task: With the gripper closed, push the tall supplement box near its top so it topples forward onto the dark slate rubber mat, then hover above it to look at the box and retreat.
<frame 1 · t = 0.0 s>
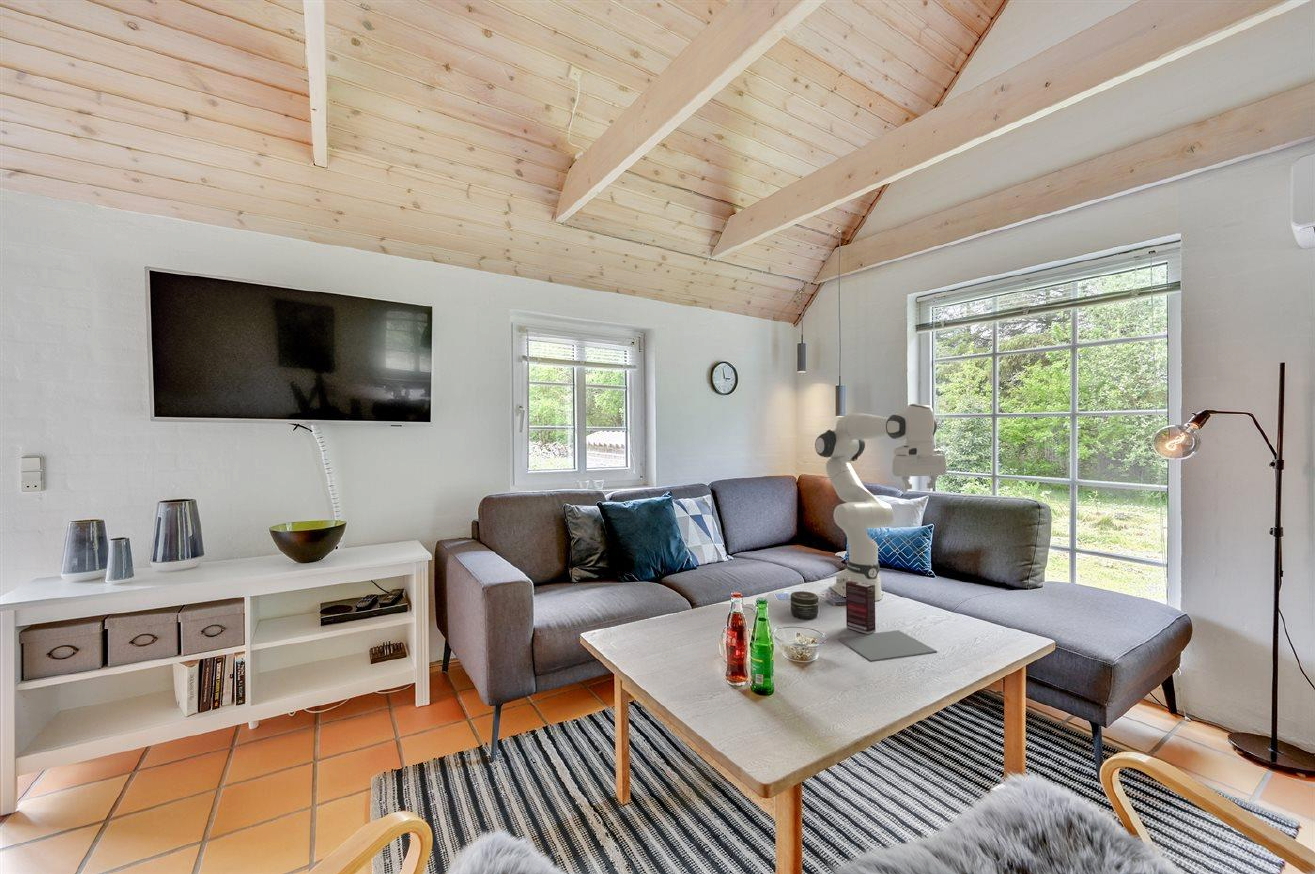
hand: (919, 488, 185), 48 cm above the table, fingers open, 8 cm apart
supplement box: (860, 630, 179), on the table, touching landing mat
jar: (804, 615, 194), on the table
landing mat: (885, 645, 167), on the table
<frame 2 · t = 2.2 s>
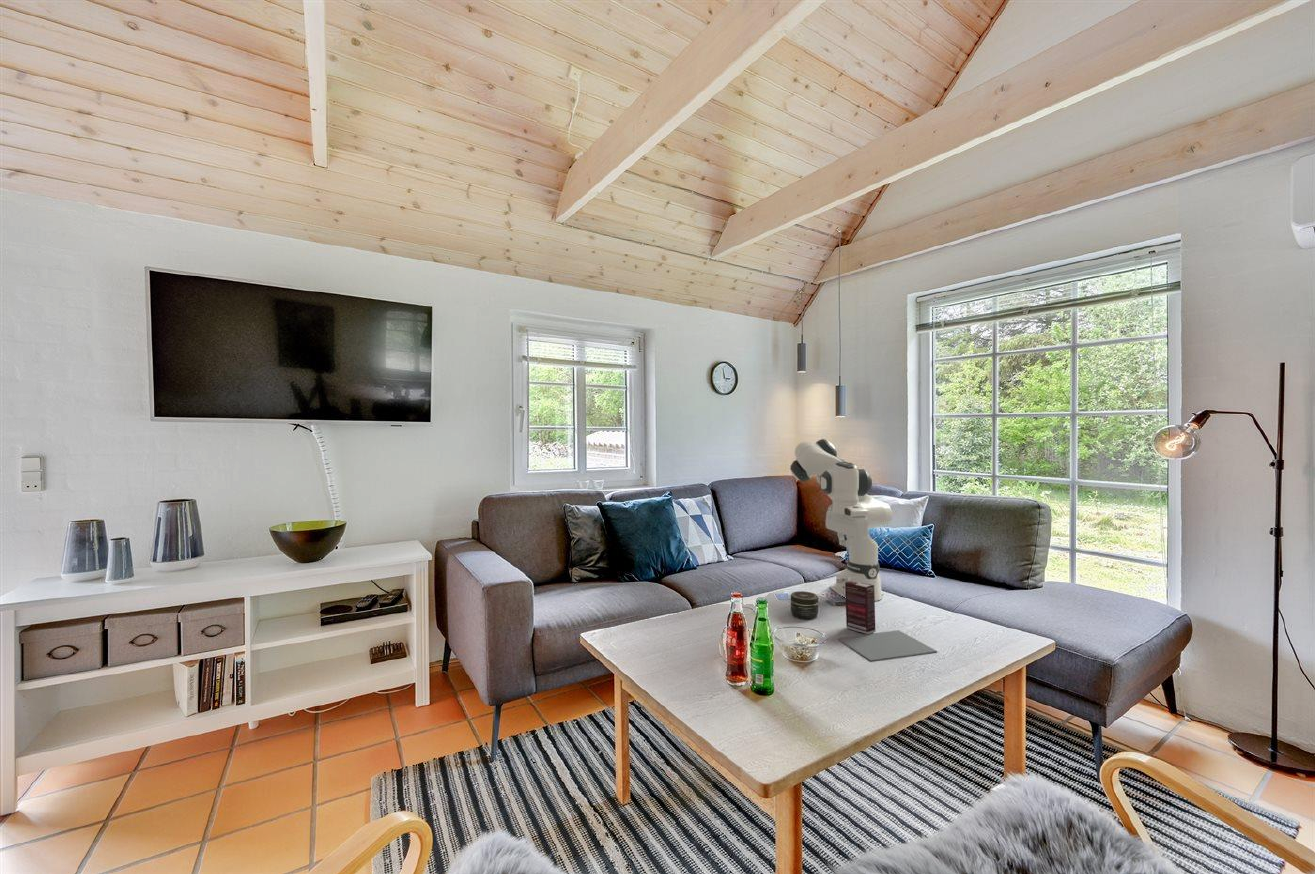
hand: (845, 546, 187), 27 cm above the table, fingers closed
nothing on the table moved.
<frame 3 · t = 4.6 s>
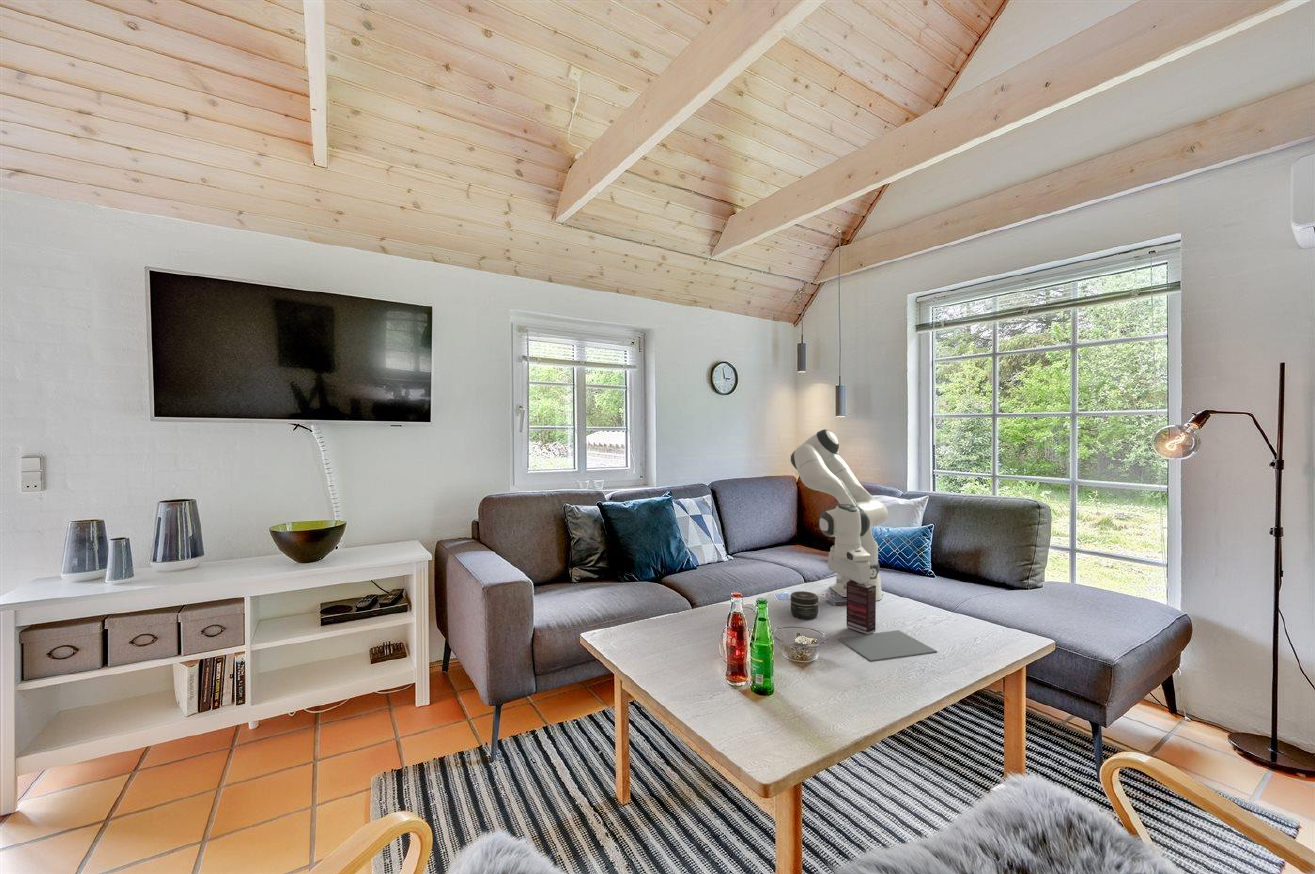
hand: (847, 589, 186), 12 cm above the table, fingers closed
supplement box: (860, 629, 179), on the table, touching gripper, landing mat
everything else where it was.
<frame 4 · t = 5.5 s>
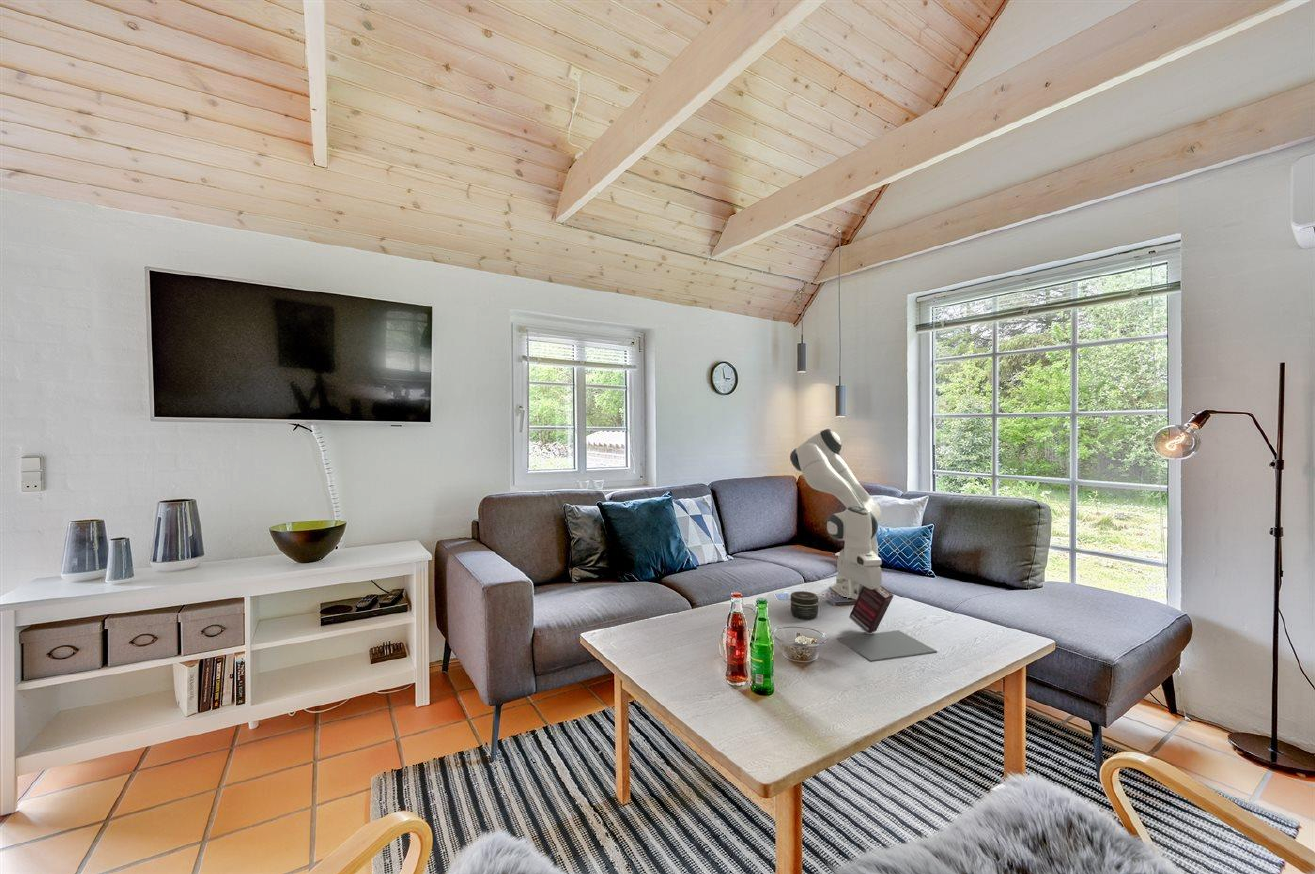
hand: (857, 594, 180), 12 cm above the table, fingers closed
supplement box: (861, 624, 179), point 2 cm above the table, touching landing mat
everything else where it was.
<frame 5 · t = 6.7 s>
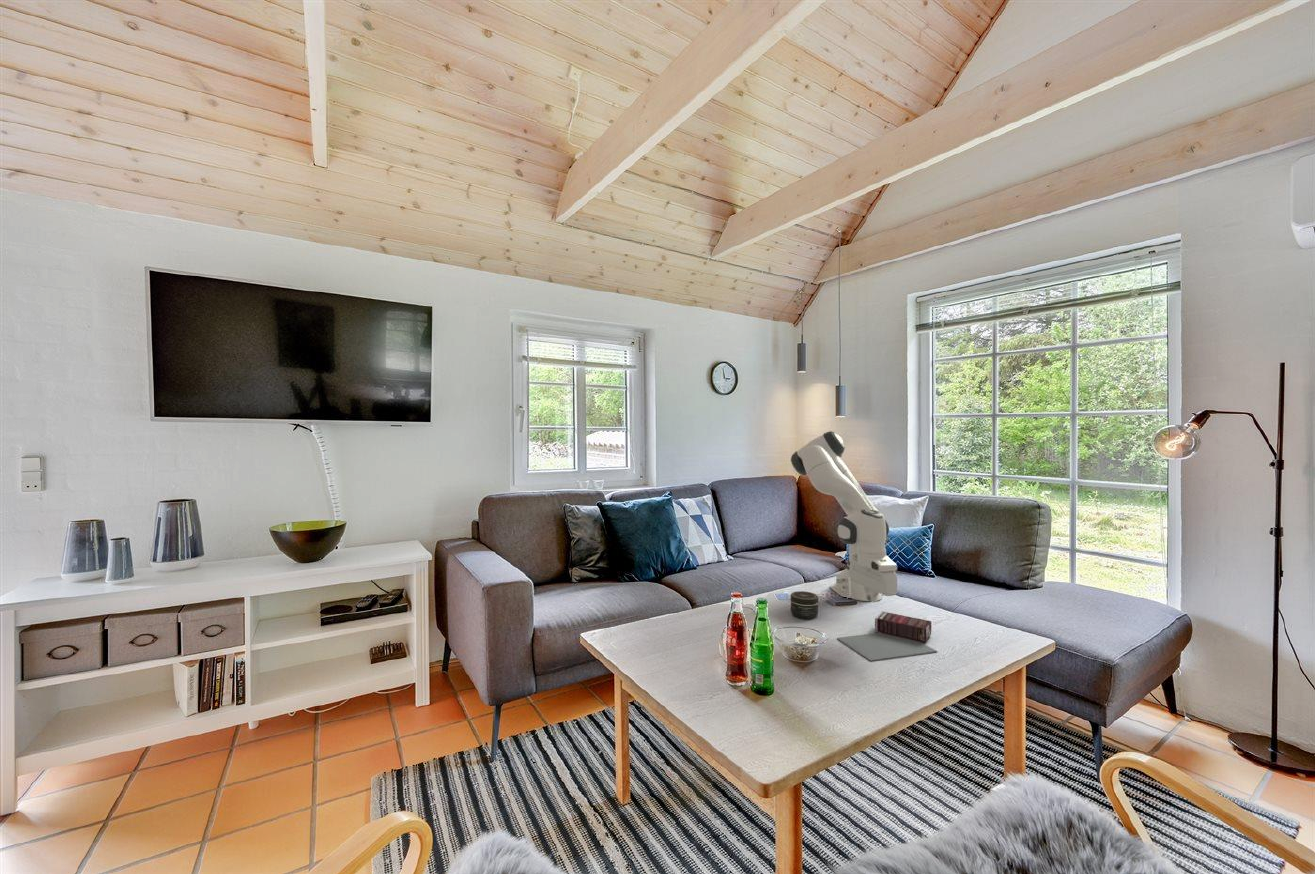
hand: (871, 600, 173), 12 cm above the table, fingers closed
supplement box: (877, 620, 181), point 3 cm above the table, touching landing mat
everything else where it was.
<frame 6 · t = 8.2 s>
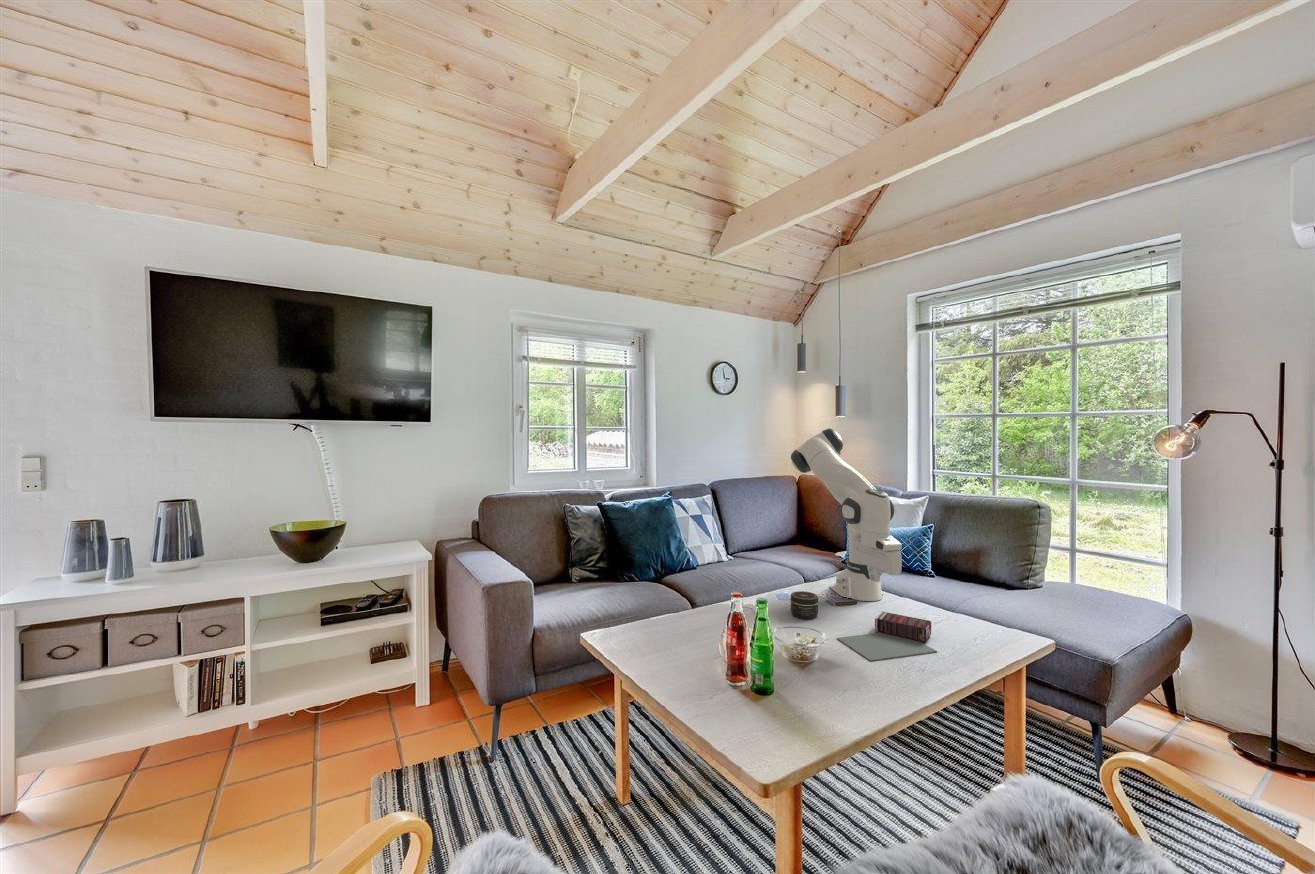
hand: (874, 580, 173), 19 cm above the table, fingers closed
nothing on the table moved.
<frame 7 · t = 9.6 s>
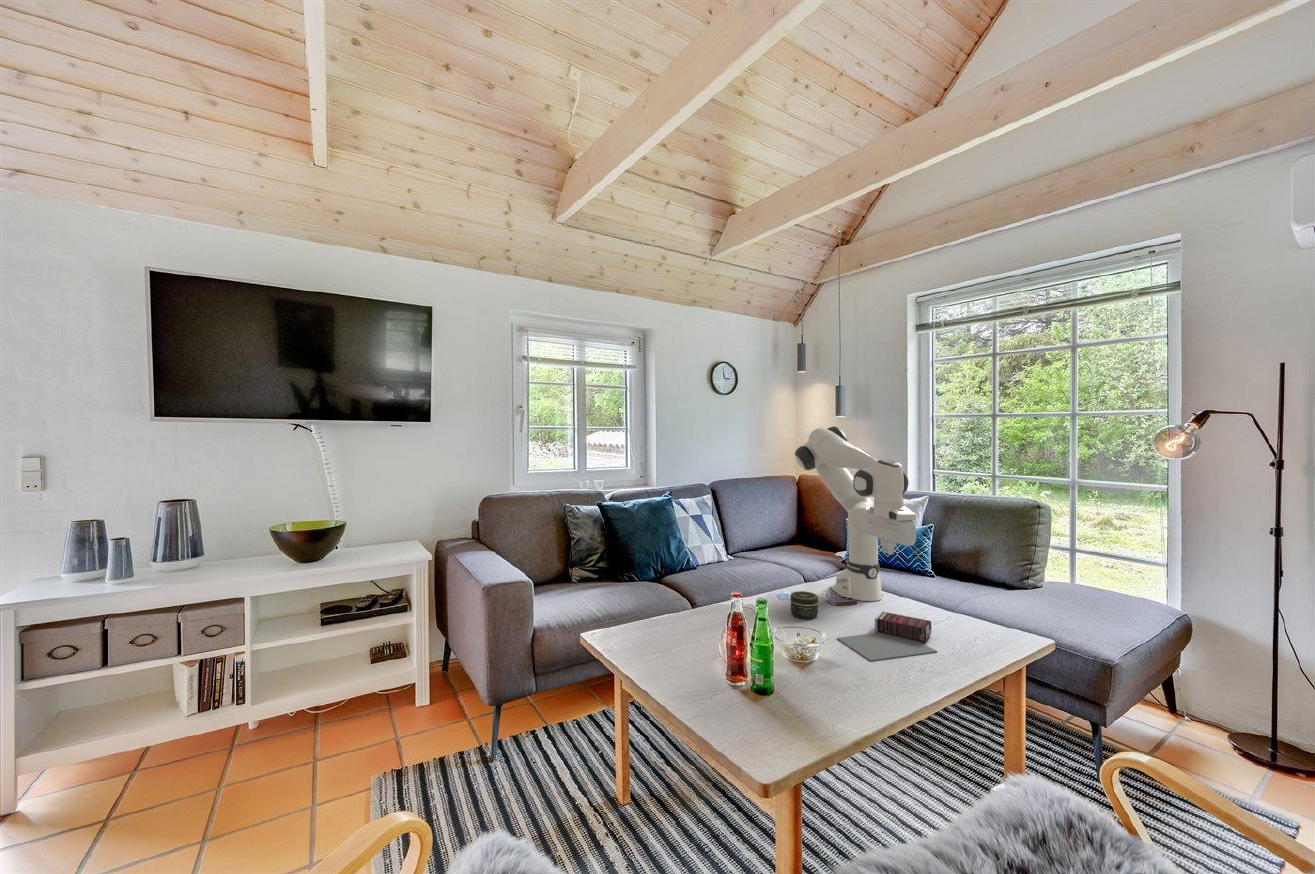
hand: (888, 553, 168), 29 cm above the table, fingers closed
nothing on the table moved.
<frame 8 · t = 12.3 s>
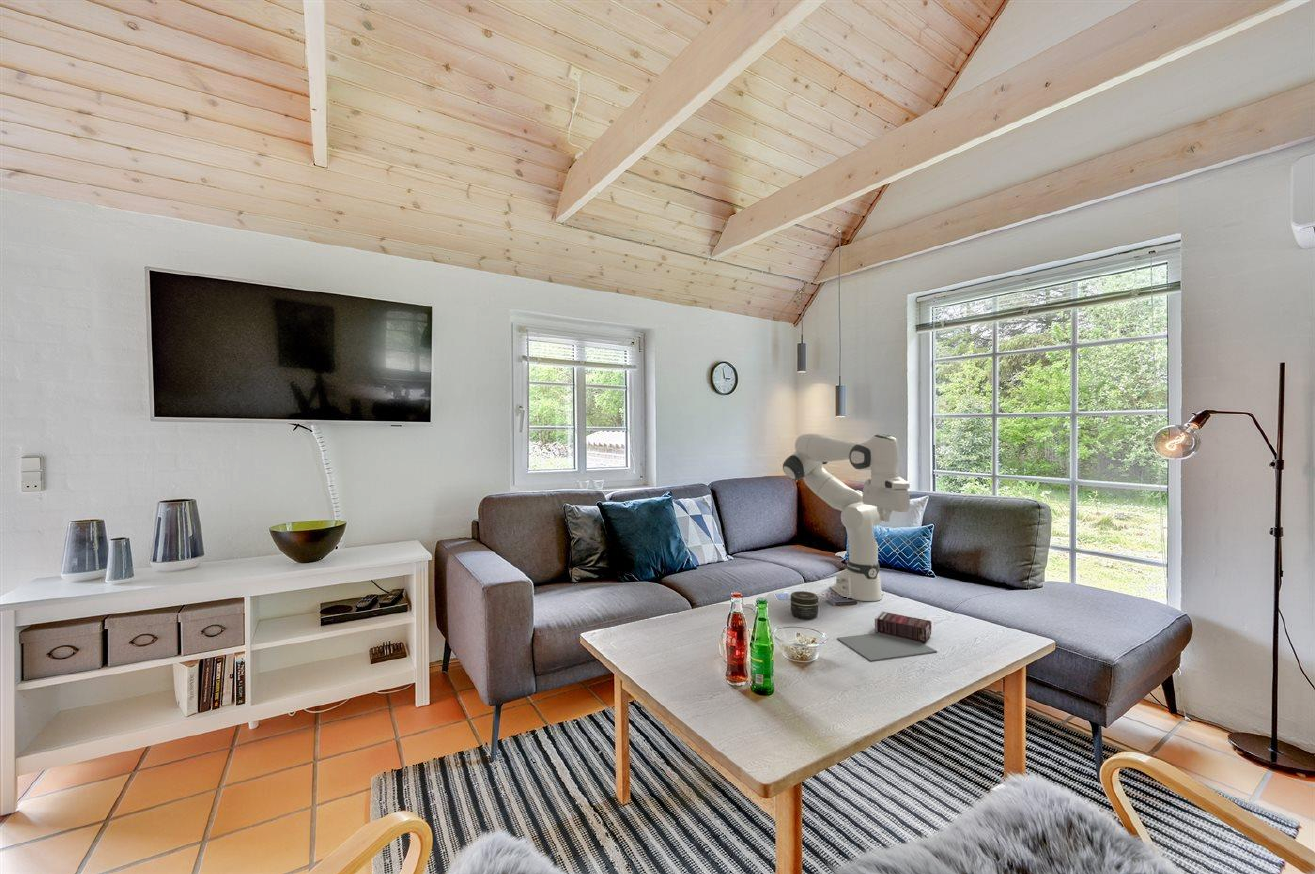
hand: (884, 520, 182), 37 cm above the table, fingers closed
nothing on the table moved.
at the end: supplement box tilted 89°; supplement box touching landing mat; supplement box inside the target area (11.6 cm from its centre), point 2.6 cm above the table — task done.
